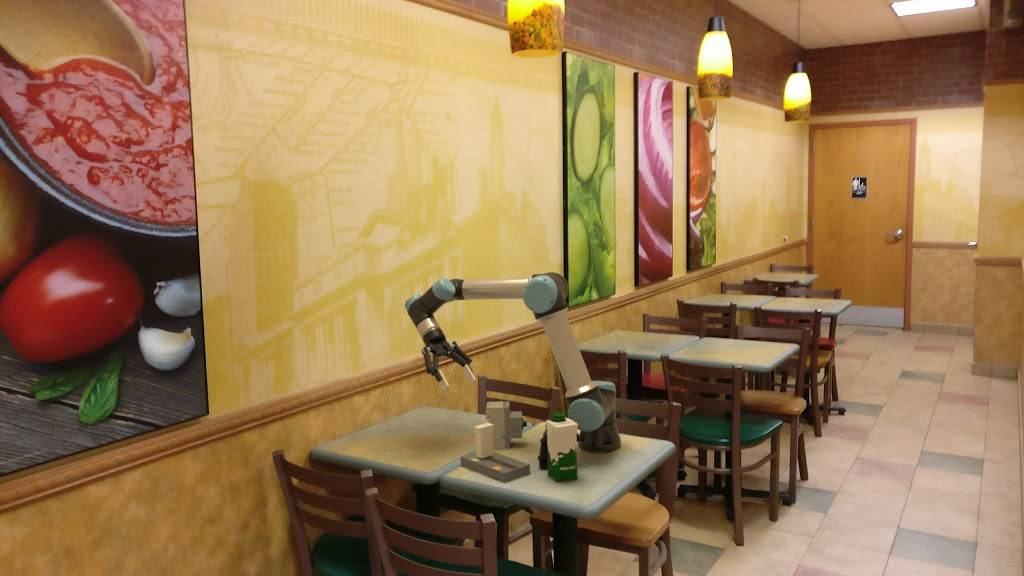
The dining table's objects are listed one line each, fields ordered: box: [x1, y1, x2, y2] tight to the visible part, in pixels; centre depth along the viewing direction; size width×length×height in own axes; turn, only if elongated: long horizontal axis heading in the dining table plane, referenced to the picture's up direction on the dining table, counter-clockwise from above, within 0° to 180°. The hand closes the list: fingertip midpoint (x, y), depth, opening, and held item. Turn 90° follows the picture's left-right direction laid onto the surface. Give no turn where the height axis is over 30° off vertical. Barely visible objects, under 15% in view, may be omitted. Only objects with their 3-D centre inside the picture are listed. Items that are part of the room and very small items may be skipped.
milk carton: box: [545, 411, 579, 483], centre depth 252 cm, size 9×9×20 cm
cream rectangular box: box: [473, 422, 494, 458], centre depth 265 cm, size 3×6×10 cm, turn 132°
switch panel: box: [460, 450, 531, 484], centre depth 262 cm, size 22×11×3 cm, turn 42°
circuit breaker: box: [485, 400, 528, 450], centre depth 285 cm, size 8×14×15 cm, turn 89°
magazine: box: [537, 424, 580, 471], centre depth 262 cm, size 4×13×15 cm, turn 99°
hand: (460, 385), depth 271 cm, fingers open, 11 cm apart
